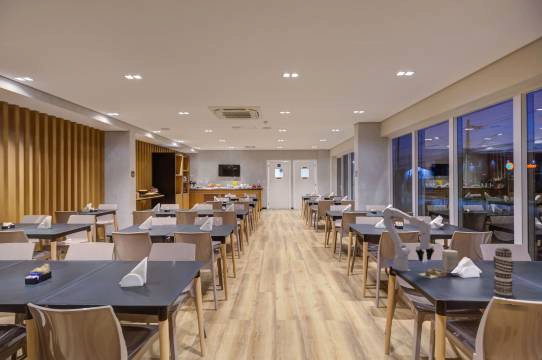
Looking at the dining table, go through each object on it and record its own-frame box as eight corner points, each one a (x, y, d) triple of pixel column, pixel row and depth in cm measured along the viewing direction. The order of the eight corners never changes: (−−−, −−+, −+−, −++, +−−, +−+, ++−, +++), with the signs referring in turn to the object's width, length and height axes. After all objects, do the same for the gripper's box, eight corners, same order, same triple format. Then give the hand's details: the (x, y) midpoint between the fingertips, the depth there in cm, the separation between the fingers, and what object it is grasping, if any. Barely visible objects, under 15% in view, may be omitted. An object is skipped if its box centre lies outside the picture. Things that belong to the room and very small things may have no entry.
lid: (418, 276, 215) (418, 270, 215) (425, 274, 218) (425, 269, 218) (430, 279, 207) (430, 273, 207) (438, 278, 210) (438, 272, 210)
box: (427, 274, 219) (427, 269, 219) (434, 273, 222) (434, 268, 222) (439, 277, 211) (439, 273, 211) (446, 276, 214) (446, 271, 214)
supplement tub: (460, 273, 222) (461, 251, 222) (453, 275, 217) (453, 252, 217) (446, 269, 231) (447, 248, 231) (439, 271, 225) (439, 250, 226)
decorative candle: (490, 289, 189) (490, 245, 189) (509, 290, 186) (509, 246, 186) (496, 294, 180) (496, 248, 180) (516, 296, 177) (516, 250, 178)
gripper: (422, 241, 211) (422, 262, 211) (437, 240, 217) (437, 260, 217) (413, 239, 217) (413, 260, 217) (428, 238, 224) (428, 258, 224)
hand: (424, 260), depth 218 cm, fingers open, 7 cm apart
